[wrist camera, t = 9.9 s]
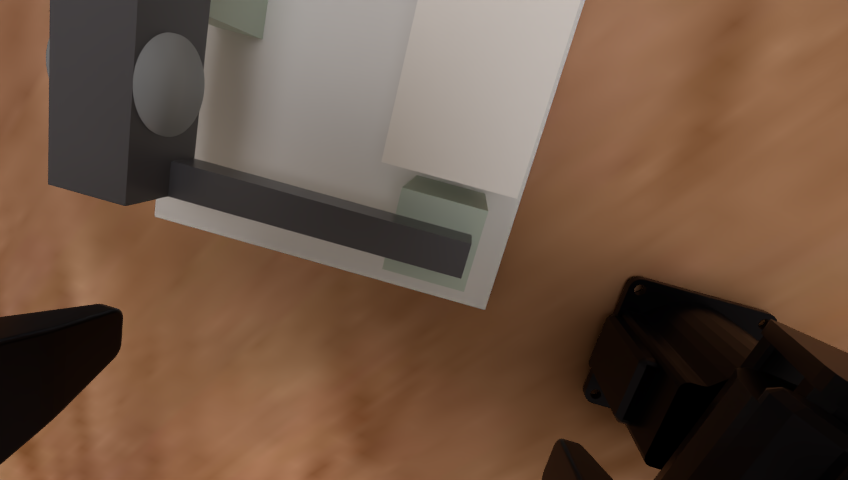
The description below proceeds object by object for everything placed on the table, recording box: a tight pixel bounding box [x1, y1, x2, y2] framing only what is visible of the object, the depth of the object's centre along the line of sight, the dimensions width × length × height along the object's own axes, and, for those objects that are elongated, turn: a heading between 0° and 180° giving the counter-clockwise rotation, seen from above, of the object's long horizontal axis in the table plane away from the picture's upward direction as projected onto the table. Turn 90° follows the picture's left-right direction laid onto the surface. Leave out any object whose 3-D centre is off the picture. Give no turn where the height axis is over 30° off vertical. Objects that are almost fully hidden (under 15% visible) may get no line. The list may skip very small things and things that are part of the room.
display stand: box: [155, 0, 585, 310], centre depth 15 cm, size 16×20×7 cm
